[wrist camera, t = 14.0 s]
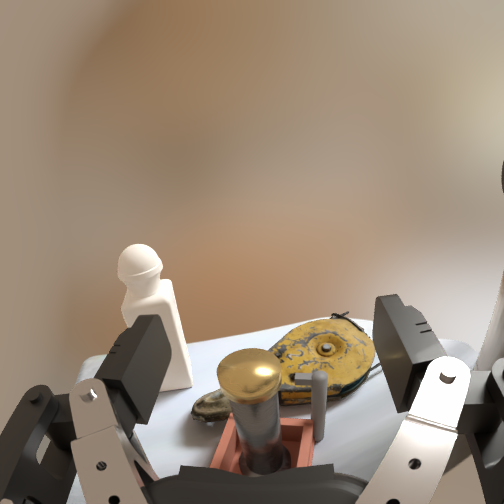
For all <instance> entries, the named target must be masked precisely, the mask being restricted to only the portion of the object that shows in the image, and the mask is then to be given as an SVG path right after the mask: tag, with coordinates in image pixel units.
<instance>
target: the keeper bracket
mask: <svg viewBox="0 0 504 504" xmlns="http://www.w3.org/2000/svg"><path fill="white" fill-rule="evenodd" d="M295 385H303V386H311V419H292V418H280V423H281V434H282V445H284V446H285V447H286V448H287V449H288V451H289V452H290V455H291V468H294V467H307V466H311V464H312V457H313V450H314V443H315V442H318V441H321V440H322V439H323V437H324V426H325V414H326V401H327V385H328V374H327V373H326V372H325V371H315V372H314V373H296V374H295ZM241 452H242V447H241V444H240V440H239V436H238V433H237V429H236V425H235V422H234V418H233V414H232V413H230V416H229V418H228V421H227V423H226V426H225V429H224V431H223V434H222V437H221V439H220V442H219V444H218V447H217V449H216V452H215V454H214V457H213V460H212V462H211V465H210V467H209V468H217V469H221V470H225V471H229V472H232V473H236V474H241V475H242V473H241V470H240V467H239V456H240V454H241Z"/></svg>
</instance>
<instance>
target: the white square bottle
mask: <svg viewBox="0 0 504 504" xmlns="http://www.w3.org/2000/svg"><path fill="white" fill-rule="evenodd" d="M162 268H163V265H162V262H161V260H160V259H159V258H158V256H157V254H156V253H155V251H154V250H153V249H152V248H150V247H148V246H146V245H143V244H135V245H131V246H129V247H127V248H126V249H125V250H124V251H123V252H122V254H121V255H120V257H119V261H118V271H117V273H118V278H119V280H121V281H122V282H124V283H125V284H126V286H127V292H126V295H125V298H124V301H123V304H122V307H121V312H122V315H123V317H124V320H125V322H126V324H127V327H132V325H133V324H134V322H135V320H136V319H137V317H138V316H139V315H149V314H158V315H159V316H160V317H161V319H162V322H163V325H164V328H165V331H166V334H167V337H168V339H169V342H170V345H171V350H172V357H171V361H170V364H169V367H168V369H167V372H166V375H165V377H164V380H163V383H162V385H161V388H160V391H159V392H162V391H169V390H176V389H183V388H189V387H192V386H193V379H192V367H191V361H190V358H189V354H188V350H187V346H186V342H185V338H184V334H183V330H182V326H181V322H180V318H179V314H178V309H177V305H176V300H175V296H174V291H173V286H172V282H171V281H170V280H168V279H162V280H160V272H161V270H162Z"/></svg>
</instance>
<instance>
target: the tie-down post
mask: <svg viewBox="0 0 504 504" xmlns="http://www.w3.org/2000/svg"><path fill="white" fill-rule="evenodd" d="M217 377H218V380H219V384H220V388H221V391H222V393H223V394H224V396H225V397H226V398H228V399H229V402H230V406H231V410H232V414H233V418H234V422H235V425H236V429H237V433H238V436H239V440H240V444H241V447H242V452H241V454H240V456H239V467H240V470H241V473H242V475H245V476H249V477H259V476H263V475H268V474H272V473H276V472H280V471H283V470H287V469H291V455H290V452H289V451H288V449H287V448H286V447H285V446H284V445H282V434H281V423H280V411H279V400H278V391H279V389H280V387H281V384H282V375H281V364H280V361H279V359H278V358H277V357H276V356H275V355H274V354H273V353H271V352H269V351H266V350H263V349H257V348H249V349H242V350H238V351H236V352H233V353H231V354H229V355H228V356H226V357H225V358H224V359H223V360H222V361H221V362H220V363H219V365H218V368H217Z"/></svg>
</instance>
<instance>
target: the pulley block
mask: <svg viewBox="0 0 504 504" xmlns="http://www.w3.org/2000/svg"><path fill="white" fill-rule="evenodd" d="M348 313H349V312H346V313H343V314H341V315H339V314H336V313H333V314H332V317H331V318H330V319H321V320H316V321H311V322H308V323H305V324H302V325H300V326H298V327H296V328H294V329H292V330H291V331H290V332H289V333H287V334H286V335H285V336H284V337H283V338H282V339H281V340H279V341H278V342H277V343H276V344H275V345H274V346H272V347H271V348H270V349H269V350H268V351H269V352H271V353H273V354H274V355H275V356H276V357H277V358H278V359H279V361H280V364H281V375H282V384H281V387H280V389H279V391H278V400H279V405H292V404H303V403H311V386H303V385H295V374H296V373H314V372H315V371H325V372H326V373H327V374H328V385H327V401H332V400H339V399H341V398H343V397H345V396H347V395H349V394H351V393H353V392H354V391H356V390H357V389H358V388H359V387H360V386H361V385H362V384H363V383H364V381H365V380H366V379H367V377H368V375H369V373H370V371H372V370H373V369H375V368H377V367H378V366H380V365H381V363H378V364H376V365H375V366H374V367H372V368H371V365H372V363H373V360H374V357H375V347H374V343H373V341H372V340H371V339H370V337H368V335H367V334H366V333H365V332H364V329H363V328H361V327H360V326H358V325H357V324H356V323H355V322H354V321H352V320H351V319H349V318H347V317H344V315H346V314H348ZM335 316H336V317H335ZM230 413H232V410H231V406H230V402H229V399H228V398H226V397H225V396H224V394H223V393H222V391H221V388H220V389H218V390H216V391H214V392H211V393H208V394H206V395H204V396H202V397H201V398H199V399H198V400H197V401H196V402H195V404H194V405H193V408H192V411H191V414H192V416H193V419H194V420H195V419H196V420H199V421H201V422H204V423H207V422H217V421H221V420H225V419H228V418H229V416H230Z"/></svg>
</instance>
